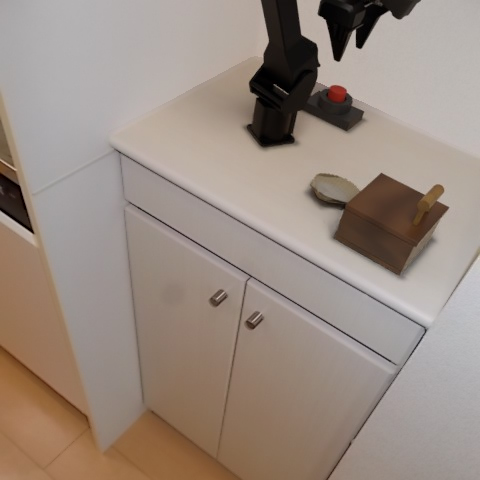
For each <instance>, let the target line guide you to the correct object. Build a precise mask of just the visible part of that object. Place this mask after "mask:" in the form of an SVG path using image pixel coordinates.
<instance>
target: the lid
mask: <svg viewBox="0 0 480 480" xmlns="http://www.w3.org/2000/svg"><path fill="white" fill-rule="evenodd" d="M359 191H360V192H359V193H358V194H357V195H356V196H355V197H353V198H352V199H351V200H350V201H349V202H348V203H347V204H345V206H344V209H347V210H349V211H350V212H352V213H354V214H356V215H358V216H360V217H361V218H363V219H365V220H367V221H369V222H371V223H372V224H374V225H376V226H378V227H380V228H382V229H383V230H385V231H387V232H389V233H391V234H393V235H395V236H396V237H398V238H400V239H402V240H404V241H406V242H407V243H409V244H411V245H413V246H415V247H417V246H418V245H419V244H420V243H421V241H422V240H423V239H424V238H425V237H426V236H427V234H428V233H429V232H430V231H431V230H432V229H433V227H434V226H435V225H436V224H437V223H438V222H439V223H440V221H441V220H440V219H442V218H443V217H444V216H445V215H446V214H447V212H448V211H449V209H450V206H449V205H446V204H444V203H443V202H440V201H438V200H440V198H441V197H442V196H443V195H444V193H445V187H444V186H443V185H442V184H438V183H436V184H435V185H433V186H432V187H431V188H430V190H429V189H428V191H427V192H426V193H422V192H420V191H419V190H416V189H414V188H413V187H411V186H409V185H407V184H404V183H403V182H401V181H398V180H397V179H395V178H393V177H391V176H389V175H388V174H385V173H382V172H381V173H379V174H378V175H377V176H376V177H375V178H374V179H372V180H371V181H370V182H369V183H368V184H367V185H366V186H364V188H363V189H361V190H359ZM439 220H440V221H439ZM439 223H438V224H439Z"/></svg>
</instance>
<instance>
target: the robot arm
mask: <svg viewBox="0 0 480 480" xmlns="http://www.w3.org/2000/svg"><path fill="white" fill-rule="evenodd" d="M421 1H422V0H319V5H318V9H317V13H316V14H317V16H318V17H321V18H322V19H323V20H325V23H326V27H327V31H328V35H329V39H330V40H329V41H330V46H331V47H330V48H331V52H332V58H333V60H334V61H335V62H337V63H340V62H341V61H342V58H343V56H344V54H345V52H346V49H347V47H348V45H349V42H350V39H351V37H352V35H353V32H354V31H355V48H356V49H359V50H362V49H363V48H364V46H365V44H366V42H367V41H368V39H369V37H370V35H371V33H372V32H373V30H374V29H375V27H376V25H377V23H378V22H379V20H380V19H381V17H382V16H384V15H386V14H387V13H389V12H390V14H391V16H392V17H393V18H394V19H396V20H399V21H400V20H402V19H403V18H405V17H407V16H410V14H411V13H412V11H413V10H414V8H415V7H416V6H417V4H419V3H420V2H421ZM260 4H261V7H262V8H261V9H262V14H263V19H264V24H265V27H266V32H267V34H266V35H267V39H268V42H267V44H266V47H265V49H264V51H263V55H262V56H263V57H262V59H263V60H262V61H263V63H262V64H261V65H260V66H259V68H258V69H257V70H256V72H255V73H254V74H253V75H252V77H251V78H250V79H249V81H248V87H249V92H250V93H251V94H253V95H255V96H256V98H255V102H254V109H253V113H252V120H251V123H248V124H246V129H247V130H248V131H249V133H250V134H251V135H252V137H253V138H254V139H255V140H256V141H257V143H258V145H260V146H261V147H263V148H265V147H271V146H277V145H278V146H279V145H286V144H293V143H295V141H296V138H295V137H294V136H293V133H294V131H295V125H296V122H297V117H298V112H301V111H304V110H303V109H304V108H305V106H306V104H307V102H308V99H309V97H310V96H311V95H312V94H313V93H312V92H313V91H314V88H315V86H316V84H317V80H318V78H319V77H318V76H319V68H321V65H322V64H321V63H320V61H319V47H318V44H317V43H316V42H314V41H313V40H311V39H310V38H308V37H306V36H304V35H303V34H302V29H301V21H300V14H299V13H300V12H299V7H298V0H260Z"/></svg>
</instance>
